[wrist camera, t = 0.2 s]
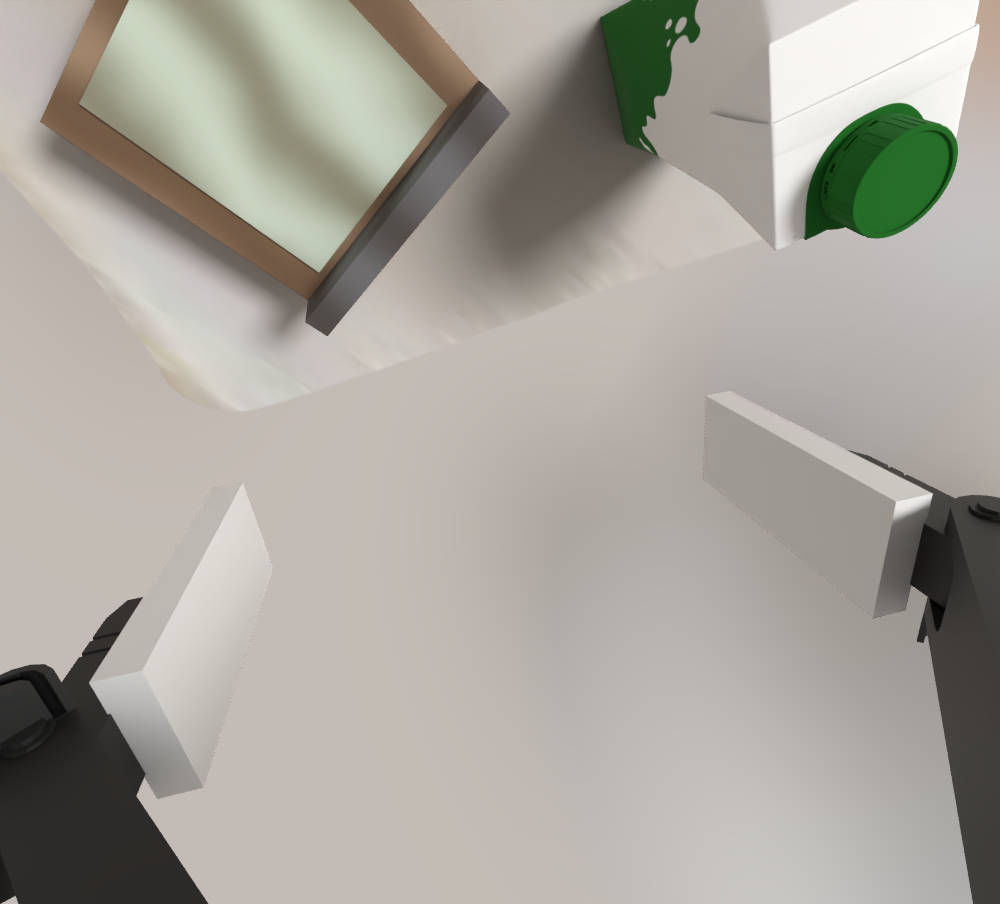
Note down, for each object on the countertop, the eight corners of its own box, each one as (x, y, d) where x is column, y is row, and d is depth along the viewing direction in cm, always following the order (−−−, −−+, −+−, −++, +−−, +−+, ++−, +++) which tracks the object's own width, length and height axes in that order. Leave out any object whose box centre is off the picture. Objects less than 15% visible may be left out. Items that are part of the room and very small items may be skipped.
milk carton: (615, 163, 37) (790, 290, 22) (580, 3, 31) (787, 34, 16) (739, 102, 36) (1006, 193, 22) (728, -75, 30) (1088, -117, 15)
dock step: (221, -210, 24) (186, -260, 19) (484, 90, 33) (510, 113, 28) (70, 106, 30) (11, 135, 24) (330, 287, 39) (327, 336, 34)
